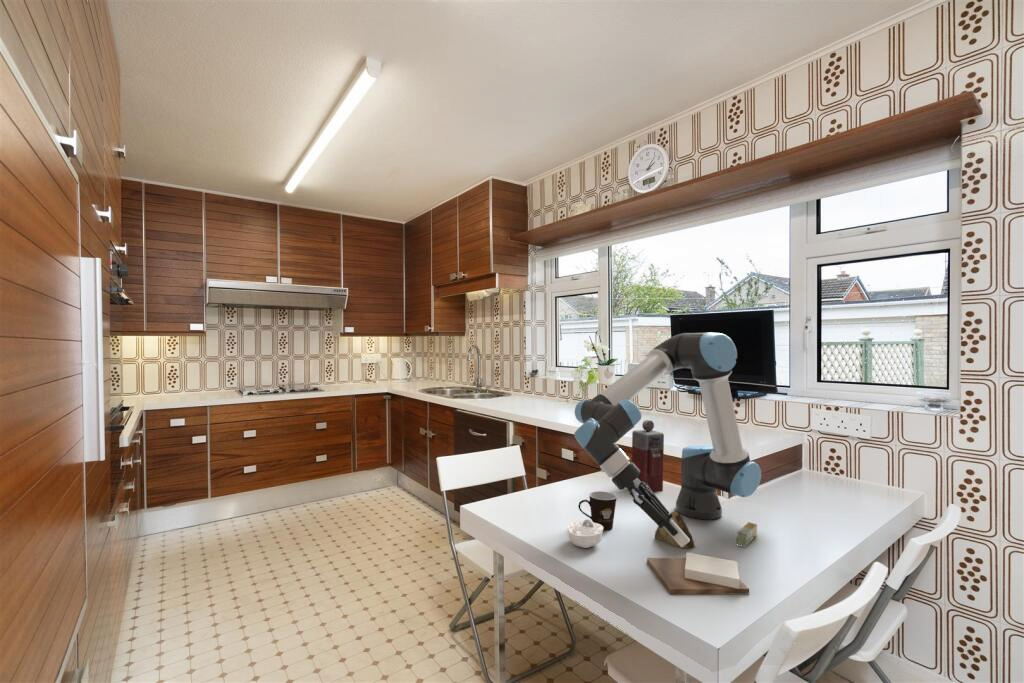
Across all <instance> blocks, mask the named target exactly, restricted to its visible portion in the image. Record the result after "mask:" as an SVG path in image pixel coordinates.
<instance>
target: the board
mask: <svg viewBox="0 0 1024 683" xmlns="http://www.w3.org/2000/svg"><path fill="white" fill-rule="evenodd" d="M646 563H647V565H648V566H649V567H650V569H651V570H652V572H653V573H654V572H655V573H654V574H655V576H656V577H657V579H658V580H659V579H660V580H659V582H661V583H663V584H662V585H663V586H664V587H665V589H666V591H667V590H668V591H667V592H668V593H669V595H722V594H721V593H725V594H724V595H731V594H730V593H749V594H750V587H748V586H747V585H746V584H745V583H744V582H743V581H742V580H741V579H739V589H736V588H731V587H726V586H721V585H716V584H711V583H706V582H701V581H696V580H691V579H686V578H685V564H686V557H647V558H646Z"/></svg>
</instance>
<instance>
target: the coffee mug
mask: <svg viewBox="0 0 1024 683" xmlns="http://www.w3.org/2000/svg"><path fill="white" fill-rule="evenodd" d="M588 495H589V500H587V499H582V500H581V501H579V503H578V505H577V506H578V510H579V511H580V512H581V513H582V514H583V515H584V516H586V517H588V518H589V519H590V520H591V521H592V522H594V523H598V524H600V525H602V526H603V527H604V528H603V530H605V531H604V532H607V530H608V531H611V530H613V526H614V519H615V512H616V503H617V497H618V496H617V495H616V494H614V493H613V492H609V491H599V490H598V491H597V490H596V491H591V492H590V493H589V494H588ZM583 503H587V504H588V505H589V507H590V515H589V514H588V513H587V512H584V511H583V510H582V509H581V505H582V504H583Z"/></svg>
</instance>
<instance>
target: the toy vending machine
mask: <svg viewBox="0 0 1024 683" xmlns="http://www.w3.org/2000/svg"><path fill="white" fill-rule="evenodd" d="M641 427H642V429H637V430H633V431H632V435H631V436H632V437H631V439H632V441H631V442H632V443H631V462H633V463H634V464H635V465H636V466H637V468H638V469H639V470H640V471H641V473H640V475H639V476H638V477H637V478H638V479H639V480H640V481H641V482H642V481H643V482H644V483H645V482H646V483H647V484H648V486H649V487H650V489H651V490H652V491H653V493H658V492H657V491H660V492H663V491H664V454H665V453H664V452H665V451H664V450H665V448H664V445H665V444H664V442H665V435H664V433H663V432H661V431H657V430H654V429H655V424H654V421H652V420H649V419H645V420H643V422H642V426H641Z"/></svg>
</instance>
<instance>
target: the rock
mask: <svg viewBox="0 0 1024 683" xmlns="http://www.w3.org/2000/svg"><path fill="white" fill-rule="evenodd" d="M671 513H672V515H673V516H672V517H671V518H670V519H672V520H673V521H674V522H675V523H676V524H677V525H678V526H679V528H680V529H681V530H682V531H683V532H684V533H685V534H686V535H687V537H688V538H689V539H690V542H688V543H687V544H686V545H684V546H683V547H682V548H681V546H680V545H679V544H678V543H677V542H676V541H675V540H674V538H673V537H672V536H671V535H670V534H669V533H668V532H667V531H666V529H665V528H664V527H662V528H659V526H658V525H657V529H656V530H655V532H654V538H656V539H658V540H662V541H663V542H665V543H668V544H670V545H673V546H676V547H679V548H681V549H693V548H696V545H695V541H694V538H693V535H692V533H691V531H689V527H688V526H687V523H686V522H685V520H684V519H683V517H682V514H680V513H679V512H677V511H673V512H669V515H670V514H671Z"/></svg>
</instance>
